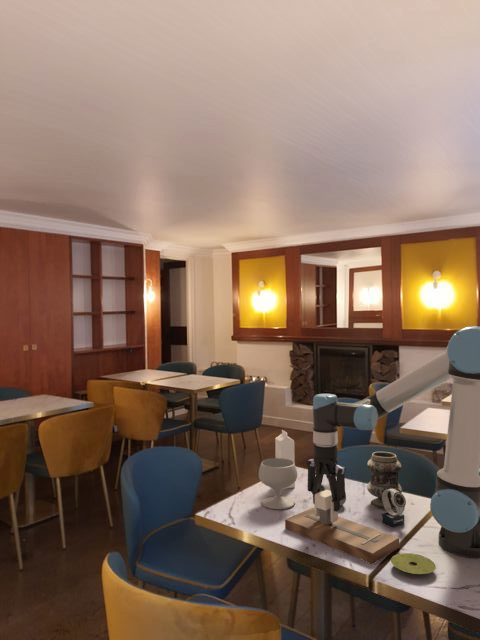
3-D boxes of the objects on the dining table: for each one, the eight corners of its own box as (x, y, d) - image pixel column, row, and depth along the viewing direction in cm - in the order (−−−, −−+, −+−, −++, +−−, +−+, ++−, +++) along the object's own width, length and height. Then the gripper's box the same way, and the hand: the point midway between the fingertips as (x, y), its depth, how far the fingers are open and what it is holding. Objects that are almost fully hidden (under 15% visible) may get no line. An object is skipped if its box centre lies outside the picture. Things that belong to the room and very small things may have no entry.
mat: (384, 560, 137) (384, 553, 137) (423, 558, 138) (423, 551, 138) (401, 582, 125) (401, 574, 125) (443, 579, 126) (443, 572, 126)
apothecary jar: (399, 499, 183) (399, 450, 183) (404, 511, 171) (404, 459, 171) (366, 497, 185) (365, 449, 185) (368, 509, 173) (368, 458, 173)
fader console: (399, 547, 144) (399, 536, 144) (372, 564, 135) (372, 552, 135) (312, 516, 168) (312, 506, 168) (285, 528, 158) (285, 518, 158)
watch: (396, 530, 156) (396, 495, 156) (378, 521, 163) (377, 487, 163) (409, 526, 159) (408, 492, 159) (390, 517, 166) (390, 485, 166)
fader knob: (337, 521, 155) (337, 492, 155) (325, 526, 151) (325, 497, 151) (327, 517, 158) (326, 489, 158) (315, 523, 154) (314, 494, 154)
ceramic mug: (347, 507, 175) (347, 486, 175) (326, 510, 173) (325, 488, 173) (334, 498, 185) (334, 477, 185) (314, 500, 183) (313, 479, 183)
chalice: (251, 506, 177) (251, 464, 177) (271, 494, 189) (270, 455, 189) (286, 514, 170) (285, 470, 170) (304, 501, 181) (303, 460, 181)
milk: (280, 489, 195) (279, 433, 195) (275, 484, 201) (274, 430, 200) (295, 487, 196) (294, 432, 196) (289, 482, 202) (288, 429, 202)
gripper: (357, 447, 151) (358, 523, 151) (310, 436, 164) (310, 506, 164) (342, 451, 145) (343, 530, 145) (295, 440, 159) (295, 513, 159)
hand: (326, 517), depth 155 cm, fingers open, 5 cm apart
